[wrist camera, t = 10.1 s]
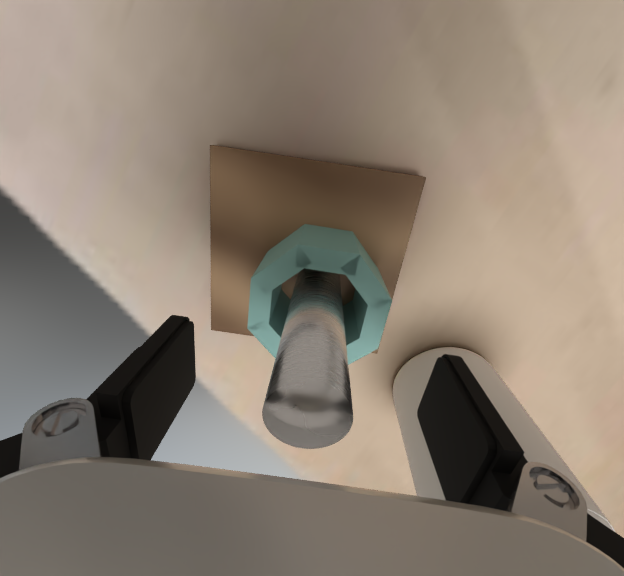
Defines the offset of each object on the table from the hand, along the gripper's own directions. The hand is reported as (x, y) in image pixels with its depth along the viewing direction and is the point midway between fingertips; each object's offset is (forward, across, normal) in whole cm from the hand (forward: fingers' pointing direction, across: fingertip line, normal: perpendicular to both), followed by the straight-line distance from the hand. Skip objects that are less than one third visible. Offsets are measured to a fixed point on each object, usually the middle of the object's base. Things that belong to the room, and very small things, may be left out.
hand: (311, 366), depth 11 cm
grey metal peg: (+9, 0, 0) cm, 9 cm away
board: (+10, +1, -1) cm, 10 cm away
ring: (+9, 0, 0) cm, 9 cm away
